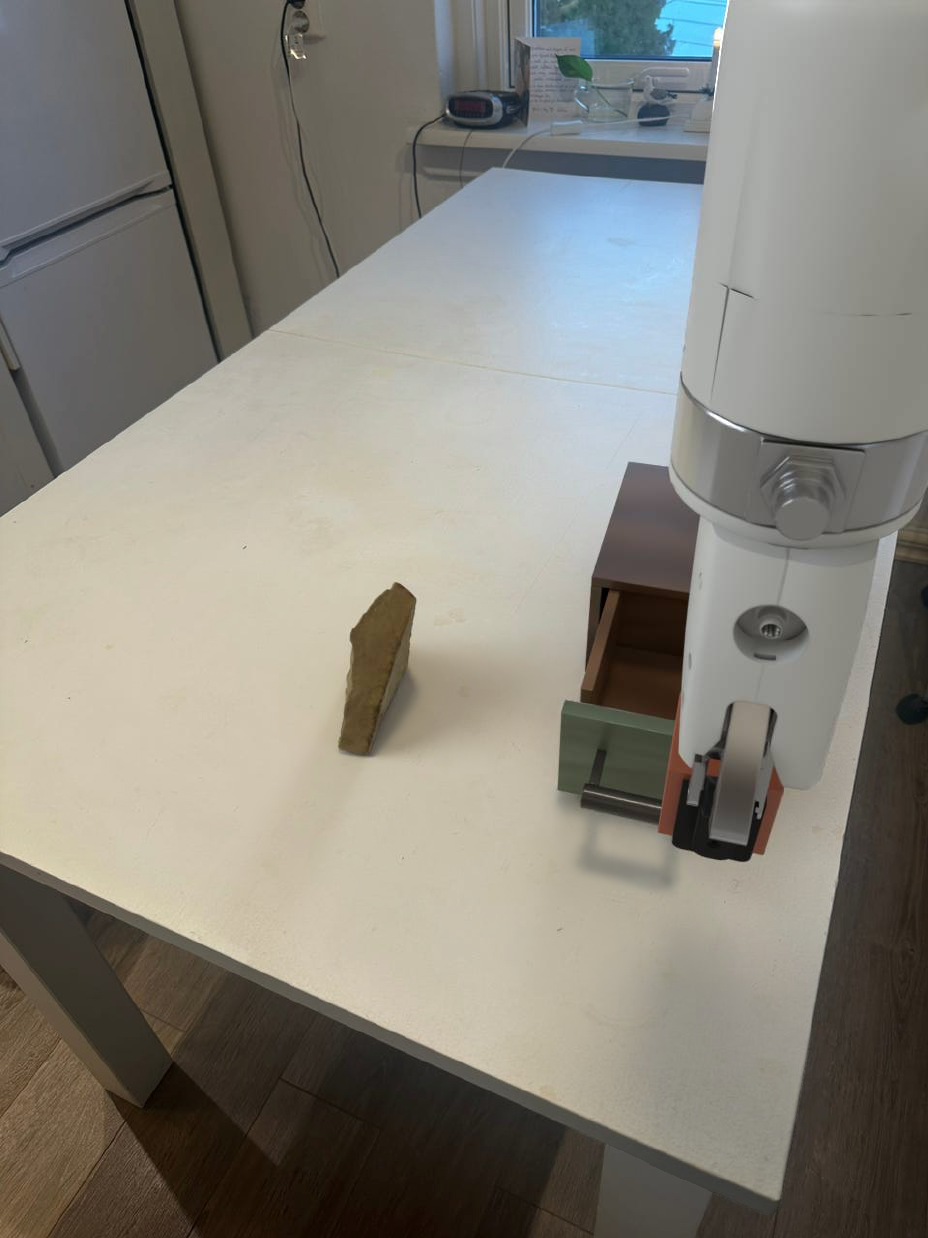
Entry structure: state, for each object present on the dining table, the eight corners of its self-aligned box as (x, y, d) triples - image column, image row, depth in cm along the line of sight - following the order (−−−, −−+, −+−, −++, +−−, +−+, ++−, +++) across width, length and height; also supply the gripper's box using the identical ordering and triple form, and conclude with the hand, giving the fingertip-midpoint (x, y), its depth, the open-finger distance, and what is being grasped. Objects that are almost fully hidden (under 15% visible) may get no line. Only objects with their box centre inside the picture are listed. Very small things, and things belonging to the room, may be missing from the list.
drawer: (709, 883, 53) (730, 806, 48) (542, 843, 56) (544, 766, 50) (734, 670, 66) (753, 591, 61) (598, 645, 69) (605, 568, 63)
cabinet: (738, 701, 65) (762, 604, 58) (584, 672, 68) (591, 576, 61) (752, 572, 76) (774, 479, 69) (619, 552, 79) (628, 460, 72)
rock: (382, 766, 59) (473, 668, 63) (303, 671, 56) (403, 576, 61) (318, 758, 68) (402, 672, 72) (247, 675, 65) (338, 592, 70)
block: (767, 774, 40) (786, 709, 37) (763, 856, 37) (783, 792, 34) (669, 755, 41) (680, 690, 38) (657, 833, 38) (668, 769, 35)
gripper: (972, 644, 19) (802, 1007, 32) (913, 327, 31) (806, 680, 43) (633, 594, 21) (596, 956, 33) (699, 312, 33) (654, 656, 45)
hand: (715, 797), depth 38 cm, fingers closed on block, 4 cm apart
